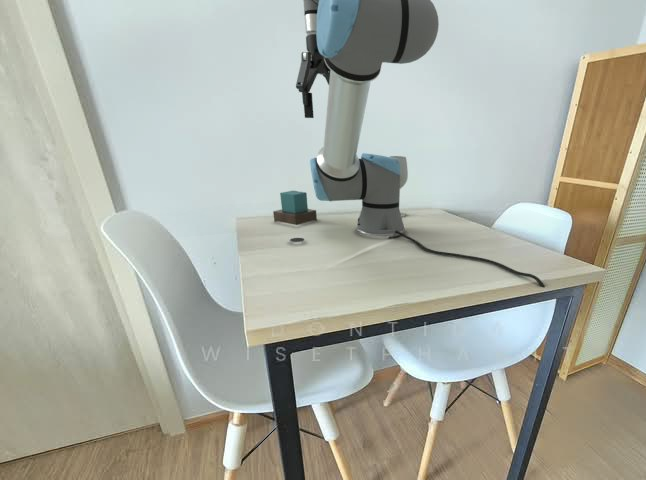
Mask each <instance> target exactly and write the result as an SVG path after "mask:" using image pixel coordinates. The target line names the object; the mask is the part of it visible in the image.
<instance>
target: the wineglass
mask: <svg viewBox="0 0 646 480" xmlns="http://www.w3.org/2000/svg"><path fill="white" fill-rule="evenodd" d="M389 157H391V158H395V159H397V160H398V161H399V162H400V174H401V176H400V190H401V189H402V188H403V187H405V185H406V183H407V181H408V177H409V174H408V173H409V172H408V161H407V157H406V156H401V155H390V156H389ZM400 213H401V217H402V218H403V217H406V214H405V213H404V212H400Z"/></svg>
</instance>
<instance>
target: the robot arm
mask: <svg viewBox="0 0 646 480" xmlns="http://www.w3.org/2000/svg"><path fill="white" fill-rule="evenodd" d="M302 2H303V11H304V12H303V13H304V14H303V15H304V25H305V27H304V28H305V34H306V36H305V46H306V51H302V52H301V55H300V58H301V59H300V61H301V62H300V66H299V70H298V74H297V78H296V83H295V89H297V91H298V92H299V93H301V97H302V104H303V112H304V118H305V119H314V103H313V93H312V92H310V91H311V89H312V88H313V85H314V83H315V80H316V78H317V76H318V75H320V76H323V78H324V79H325V81H326V82H327V85H328V91H327V92H328V94H327V105H326V115H325V116H326V117H325V118H326V119H325V127H324V137H323V138H324V140H323V146H322V147H321V148H320V149H319V151H318V152H317V155H316V157H314V158H310V160H309V166H310V172H311V177H312V185H313V190H314V194H315V197H316V199H317V200H319V201H321V202H323V201H324V202H337V201H339V202H340V201H361V209H360V214H359V217H357V218H358V219H357V222H356V223H357V224H356V231H357V232H359V233H361V234H363V235H367V236H374V237H388V239H392V238H397V237H400V236H401V237H403V238H405V239H407V240H409V241H411V242H413V243H414V244H416V245H417V246H418V247H420V248H421V249H422V250H423V251H426V252H428V253H432V254H435V255H441V256H449V257H457V258H463V259H469V260H474V261H475V260H476V261H479V262H485V263H488V264H492V265H494V266H497V267H500V268H502V269H504V270H506V271H508V272H510V273H512V274H515V275H517V276H521V277H527V278H531V279H533V280H535V281H536V282H537V283H538V284H539V286H540V287H541V288H546V285H545V284H544V283H543V281H542V280H541V279H540V278H539V277H538V276H537V275H534V274H531V273H529V272H521V271H518V270H515V269H513V268H511V267H509V266H507V265H505V264H503V263H500V262H498V261H495V260H492V259H487V258H483V257H479V256H472V255H468V254H467V255H466V254H462V253H461V254H460V253H455V252H446V251H439V250H434V249H431V248H427V247H426V246H424V245H423V244H422V243H420V242H419V241H418V240H416V239H414V238H412V237H410V236H408V235H406V234H404V233H405V225H404V220H403V217H401V213H402V212H401V210H400V195H401V194H400V193H401V189H400V176H401V174H400V162H399V161H398V160H397V159H395V158H391V157H390V156H387V155H381V154H374V153H366V152H363V153H361V156H360V158H359V157H358V155H357V153H358V149H359V148H358V147H359V142H360V137H361V132H362V127H363V123H364V116H365V113H366V107H367V102H368V97H369V92H370V87H371V82H373V81H375V80H376V79H377V78H378V77H379V75H380V73H381V69H382V65H383V63H384V64H385V63H387V64H399V65H402V64H410V63H413V62H416V61H418V60H420V59H422V58H423V57H424V56H425V55H426V54H427V53H428V52H429V51H430V50H431V48H432V47H433V45H434V44H435V41H436V39H437V37H438V32H439V15H438V12H437V11H438V10H437V8H436V7H435V5H434V3H433V1H432V0H303V1H302Z"/></svg>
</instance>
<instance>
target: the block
mask: <svg viewBox="0 0 646 480" xmlns="http://www.w3.org/2000/svg"><path fill="white" fill-rule="evenodd" d="M279 194H280V195H279V197H280V204H281V209H282V211H284V212H290V213H295V214H296V213H300V212H304V211H308V209H309V208H308V194H307V192H306V191H299V190H288V191H282V192H280V193H279Z"/></svg>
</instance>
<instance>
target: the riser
mask: <svg viewBox="0 0 646 480" xmlns="http://www.w3.org/2000/svg"><path fill="white" fill-rule="evenodd" d="M272 214H273V221H274V223H277V222H280V223H285V224H288V225H289V224H290V225H295V226H297V225H301V224H304V223H309V222H312V221H315V222H318V217H317V210H316V209H311V208H308V211H304V212H300V213H296V214H295V213H290V212H284V211H282V208H281V209H278V210H273V211H272Z"/></svg>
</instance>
